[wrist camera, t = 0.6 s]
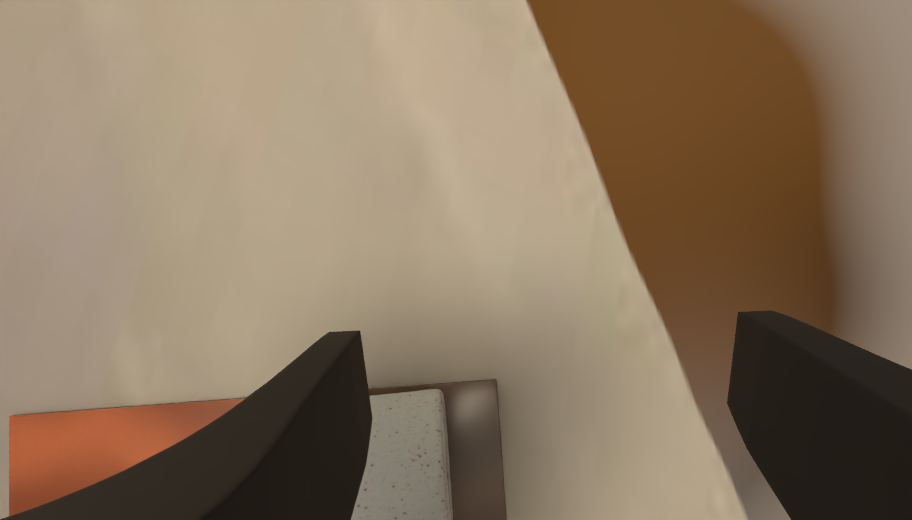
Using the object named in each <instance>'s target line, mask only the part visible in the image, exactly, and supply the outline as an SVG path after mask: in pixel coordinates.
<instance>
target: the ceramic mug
mask: <svg viewBox="0 0 912 520" xmlns="http://www.w3.org/2000/svg"><path fill="white" fill-rule="evenodd" d="M369 397H370V404H371V411H372V418H373V419H372V427H371V435H370V442H369V449H368V456H367V462H366V467H365V470H364V474H363V478H362V481H361V485H360V489H359V492H358V496H357V500H356V503H355V507H354V510H353V514H352V517H351V520H453V510H452V495H451V481H450V463H449V451H448V435H447V425H446V412H445V400H444V395H443V392H442V391H441V390H439V389H428V390H420V391H412V392H402V393H393V394H383V395H372V396H369Z"/></svg>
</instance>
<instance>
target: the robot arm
mask: <svg viewBox="0 0 912 520" xmlns="http://www.w3.org/2000/svg"><path fill="white" fill-rule="evenodd" d="M727 404H728V406H729V409H730V411H731V414H732V416H733V418H734V421H735V423H736V425H737V428H738V430H739V432H740V434H741V436H742V439H743V441H744V443H745V445H746V447H747V449H748V451H749V453H750V454H751V456H752V458H753V459H754V461H755V462H756V464H757V466H758V467H759V469H760V471H761V472H762V474H763V476H764V477H765V479H766V480H767V482H768V484H769V485H770V487H771V488H772V490H773V491H774V493H775V495H776V496H777V498H778V499H779V501H780V502H781V504H782V506H783V507H784V509H785V510H786V512H787V514H788V515H789V517H790V518H791V520H912V370H911V369H909V368H906V367H904V366H901V365H899V364H897V363H894V362H892V361H890V360H887V359H885V358H882V357H880V356H878V355H875V354H873V353H871V352H869V351H867V350H864V349H862V348H860V347H857V346H855V345H853V344H850V343H849V342H846V341H844V340H842V339H840V338H837V337H835V336H833V335H831V334H829V333H826V332H824V331H822V330H820V329H817V328H815V327H813V326H810V325H808V324H806V323H804V322H801V321H799V320H796V319H794V318H792V317H789V316H786V315H784V314H781V313H778V312H774V311H751V312H738V317H737V326H736V334H735V343H734V351H733V359H732V367H731V376H730V384H729V392H728V401H727ZM372 419H373V418H372V411H371V404H370V397H369V390H368V383H367V376H366V369H365V362H364V355H363V348H362V341H361V334H360V331H342V332H329V333H327V334H326V335H324V336H323V337H322V338H320V339H319V340H318V341H317V342H315V343H314V344H313V345H312V346H311V347H309V348H308V349H307V350H306V351H305V352H303V353H302V354H301V355H300V356H299V357H298V358H296V359H295V360H294V361H293V362H292V363H290V364H289V365H288V366H287V367H285V368H284V369H283V370H282V371H281V372H279V373H278V374H277V375H276V376H275V377H273V378H272V379H271V380H270V381H268V382H267V383H266V384H264V385H263V386H262V387H260V388H259V389H258V390H256V391H255V392H254V393H252V394H251V395H250V396H248V397H247V398H246V399H244V400H243V401H241V402H240V403H239V404H237V405H236V406H235V407H233V408H232V409H231V410H229V411H228V412H226V413H225V414H223V415H222V416H220V417H219V418H217V419H216V420H214V421H213V422H211V423H210V424H208V425H206V426H205V427H203V428H201V429H200V430H198V431H196V432H195V433H193V434H192V435H190V436H188V437H187V438H185V439H183V440H181V441H180V442H178V443H176V444H174V445H172V446H171V447H169V448H167V449H165V450H163V451H161V452H159V453H157V454H155V455H153V456H151V457H149V458H147V459H145V460H143V461H141V462H139V463H137V464H135V465H134V466H132V467H130V468H128V469H126V470H124V471H122V472H119V473H117V474H115V475H113V476H111V477H108V478H106V479H104V480H102V481H99V482H97V483H95V484H93V485H90V486H88V487H86V488H83V489H81V490H78V491H76V492H73V493H71V494H69V495H66V496H64V497H61V498H59V499H56V500H54V501H51V502H48V503H46V504H43V505H41V506H38V507H35V508H32V509H29V510H27V511H24V512H21V513H18V514H15V515H12V516H9V517H6V518H3V519H1V520H351V517H352V514H353V510H354V507H355V503H356V500H357V496H358V492H359V489H360V485H361V481H362V478H363V474H364V470H365V467H366V462H367V456H368V449H369V442H370V435H371V427H372Z"/></svg>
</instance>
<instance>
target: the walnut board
mask: <svg viewBox="0 0 912 520" xmlns="http://www.w3.org/2000/svg"><path fill="white" fill-rule="evenodd" d="M428 389H439V390H441V391H442V392H443V395H444V400H445V412H446V425H447V435H448V451H449V463H450V481H451V495H452V510H453V520H507V519H506V505H505V492H504V478H503V464H502V451H501V437H500V424H499V410H498V396H497V383H496V379H493V380H479V381H466V382H453V383H439V384H426V385H412V386H399V387H386V388H372V389H368V390H369V396H372V395H383V394H393V393H402V392H412V391H420V390H428ZM244 399H246V398H238V399H225V400H212V401H198V402H185V403H171V404H158V405H145V406H131V407H118V408H104V409H91V410H78V411H64V412H51V413H38V414H24V415H13V416H10V469H9V516H12V515H15V514H18V513H21V512H24V511H27V510H29V509H32V508H35V507H38V506H41V505H43V504H46V503H48V502H51V501H54V500H56V499H59V498H61V497H64V496H66V495H69V494H71V493H73V492H76V491H78V490H81V489H83V488H86V487H88V486H90V485H93V484H95V483H97V482H99V481H102V480H104V479H106V478H108V477H111V476H113V475H115V474H117V473H119V472H122V471H124V470H126V469H128V468H130V467H132V466H134V465H135V464H137V463H139V462H141V461H143V460H145V459H147V458H149V457H151V456H153V455H155V454H157V453H159V452H161V451H163V450H165V449H167V448H169V447H171V446H172V445H174V444H176V443H178V442H180V441H181V440H183V439H185V438H187V437H188V436H190V435H192V434H193V433H195V432H196V431H198V430H200V429H201V428H203V427H205V426H206V425H208V424H210V423H211V422H213V421H214V420H216V419H217V418H219V417H220V416H222V415H223V414H225V413H226V412H228V411H229V410H231V409H232V408H233V407H235V406H236V405H237V404H239V403H240V402H241V401H243V400H244Z"/></svg>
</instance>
